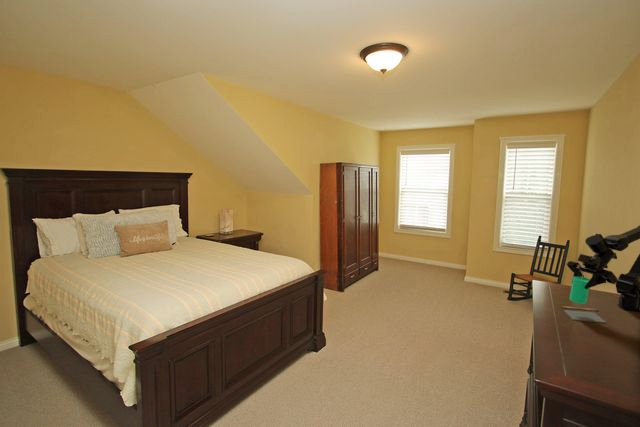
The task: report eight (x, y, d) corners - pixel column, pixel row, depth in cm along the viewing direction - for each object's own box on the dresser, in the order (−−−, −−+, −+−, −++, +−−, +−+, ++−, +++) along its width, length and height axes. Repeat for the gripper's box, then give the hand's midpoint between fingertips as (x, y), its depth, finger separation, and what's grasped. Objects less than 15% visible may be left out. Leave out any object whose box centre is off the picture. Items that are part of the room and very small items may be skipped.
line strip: (596, 309, 153) (596, 308, 153) (598, 311, 151) (598, 310, 151) (561, 306, 157) (561, 305, 157) (562, 308, 155) (562, 307, 155)
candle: (569, 301, 147) (574, 275, 145) (569, 296, 152) (573, 271, 150) (587, 305, 144) (592, 279, 141) (585, 299, 149) (590, 274, 146)
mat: (594, 313, 149) (594, 312, 149) (606, 323, 139) (606, 322, 139) (563, 310, 152) (563, 309, 152) (572, 319, 143) (572, 319, 143)
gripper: (570, 243, 154) (549, 268, 153) (614, 252, 136) (590, 281, 135) (583, 259, 157) (562, 283, 156) (627, 269, 139) (604, 298, 137)
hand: (578, 286), depth 146 cm, fingers closed on candle, 5 cm apart
